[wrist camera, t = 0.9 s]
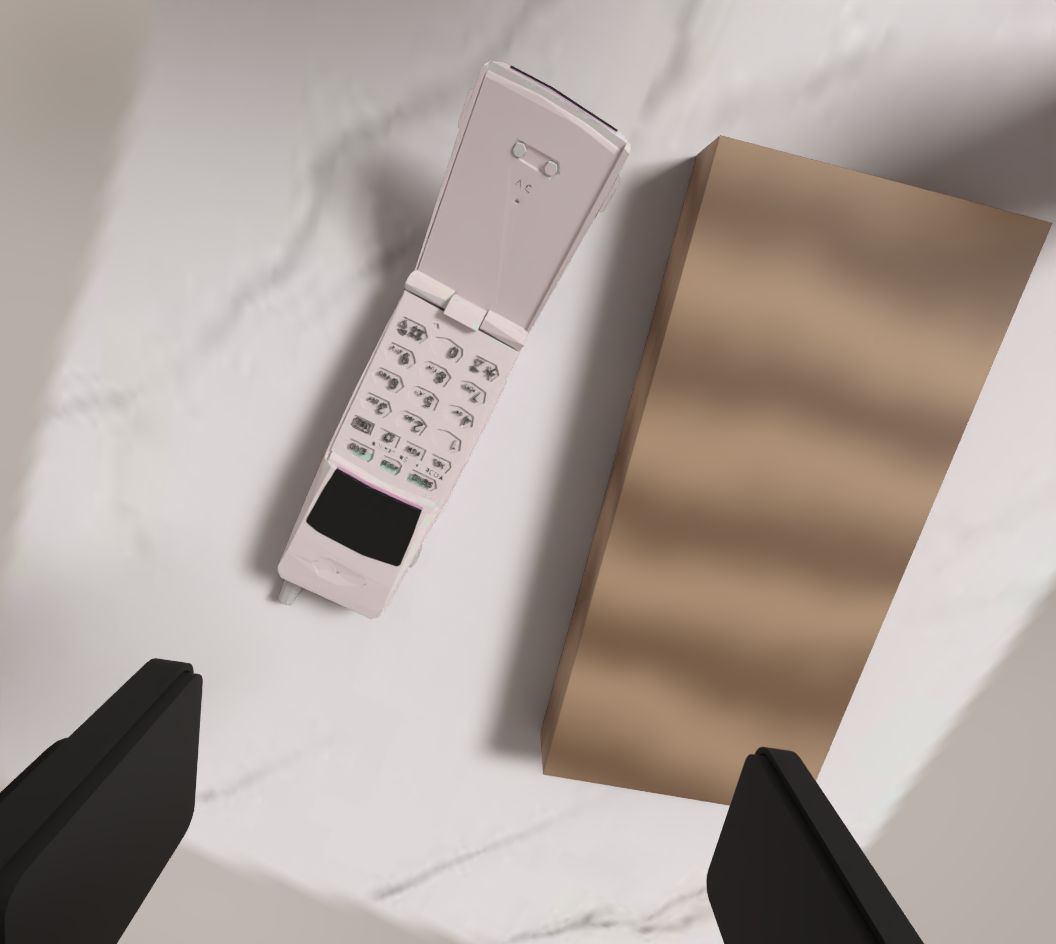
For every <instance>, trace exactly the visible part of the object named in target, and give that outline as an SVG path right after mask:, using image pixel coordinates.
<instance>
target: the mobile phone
mask: <svg viewBox="0 0 1056 944" xmlns="http://www.w3.org/2000/svg"><path fill="white" fill-rule="evenodd" d="M458 128H459V129H460V131H459V133H458V136H457V139H456V142H455V145H454V149H453V152H452V155H451V158H450V161H449V164H448V168H447V171H446V174H445V177H444V180H443V183H442V186H441V190H440V193H439V196H438V199H437V202H436V205H435V208H434V212H433V215H432V218H431V221H430V224H429V227H428V230H427V234H426V237H425V240H424V243H423V246H422V249H421V253H420V256H419V259H418V262H417V265H416V268H415V271H413V272H412V273H411V274H410V275H409V277H408V279H407V281H406V282H405V287H404V288H405V290H404V292H403V294H402V296H401V298H400V300H399V302H398V304H397V306H396V308H395V310H394V312H393V314H392V316H391V318H390V320H389V321H388V323H387V325H386V327H385V329H384V331H383V333H382V335H381V337H380V339H379V341H378V344H377V346H376V348H375V350H374V352H373V354H372V356H371V358H370V360H369V362H368V364H367V366H366V368H365V370H364V372H363V374H362V376H361V378H360V380H359V382H358V384H357V386H356V388H355V390H354V392H353V394H352V397H351V399H350V401H349V403H348V405H347V407H346V409H345V412H344V414H343V416H342V418H341V420H340V422H339V424H338V426H337V428H336V430H335V432H334V434H333V436H332V438H331V441H330V443H329V445H328V447H327V449H326V452H325V454H324V456H323V459H322V461H321V463H320V466H319V468H318V470H317V473H316V475H315V477H314V480H313V482H312V484H311V487H310V489H309V491H308V494H307V496H306V499H305V502H304V504H303V506H302V509H301V511H300V513H299V516H298V518H297V521H296V523H295V525H294V527H293V530H292V532H291V535H290V538H289V540H288V543H287V545H286V547H285V550H284V552H283V555H282V557H281V559H280V562H279V564H278V573H279V575H280V577H281V578H283V579H284V582H283V585H282V588H281V591H280V594H279V597H278V600H279V601H280V602H281V603H283V604H285V605H291V604H292V603H293V601H294V600H295V598H296V597H297V595H298V594H299V592H300V591H301V589H302V588H305V589H307V590H309V591H311V592H313V593H315V594H318V595H320V596H322V597H324V598H326V599H329V600H331V601H333V602H335V603H337V604H340V605H342V606H344V607H346V608H348V609H350V610H353V611H355V612H357V613H359V614H361V615H364V616H366V617H368V618H370V619H372V618H376V617H378V616H379V615H380V614H382V613H383V612H384V611H385V609H386V608H387V606H388V604H389V603H390V601H391V599H392V597H393V595H394V594H395V592H396V590H397V588H398V586H399V585H400V583H401V581H402V579H403V577H404V576H405V574H406V572H407V570H408V569H409V567H412V566H413V565H414V564H415V563H416V561H417V559H418V557H419V555H420V552H421V549H422V543H423V541H424V540H425V538H426V536H427V534H428V532H429V530H430V529H431V527H432V525H433V523H434V522H435V521H436V519H437V518H438V516H439V515H440V513H441V511H442V510H443V508H444V506H445V504H446V503H447V501H448V499H449V497H450V495H451V493H452V491H453V489H454V487H455V485H456V483H457V481H458V480H459V478H460V476H461V474H462V472H463V470H464V468H465V466H466V464H467V462H468V460H469V458H470V456H471V454H472V452H473V450H474V448H475V446H476V444H477V442H478V440H479V438H480V436H481V434H482V433H483V431H484V429H485V427H486V425H487V423H488V421H489V419H490V417H491V415H492V413H493V411H494V408H495V406H496V404H497V402H498V400H499V398H500V396H501V394H502V392H503V390H504V388H505V386H506V382H507V378H508V376H509V374H510V372H511V370H512V368H513V366H514V364H515V362H516V360H517V358H518V356H519V353H520V351H521V349H522V347H523V346H524V344H525V342H526V340H527V338H528V334H529V332H530V330H531V328H532V327H533V325H534V323H535V321H536V320H537V318H538V316H539V315H540V313H541V311H542V309H543V308H544V306H545V304H546V302H547V301H548V299H549V297H550V295H551V294H552V292H553V290H554V288H555V287H556V285H557V283H558V281H559V280H560V278H561V276H562V274H563V273H564V271H565V269H566V267H567V266H568V264H569V262H570V260H571V259H572V257H573V255H574V253H575V252H576V250H577V248H578V246H579V245H580V243H581V241H582V239H583V237H584V236H585V234H586V232H587V230H588V229H589V227H590V225H591V223H592V222H593V220H594V218H595V217H596V215H597V213H598V212H602V211H604V210H605V208H606V206H607V204H608V203H609V201H610V199H611V197H612V195H613V194H614V192H615V190H616V188H617V186H618V184H619V182H620V177H619V175H618V174H619V172H620V170H621V169H622V167H623V165H624V163H625V161H626V159H627V157H628V155H629V153H630V149H631V146H630V144H629V142H628V141H627V140H626V138H625V137H624V135H622V134H621V133H620V132H619V131H618V130H617V129H615V128H614V127H612V126H611V125H609V124H608V123H606V122H605V121H603V120H602V119H600V118H599V117H597V116H596V115H594V114H593V113H591V112H589V111H588V110H586V109H585V108H583V107H582V106H580V105H579V104H577V103H576V102H574V101H573V100H571V99H570V98H568V97H567V96H565V95H564V94H562V93H561V92H559V91H558V90H556V89H555V88H553V87H551V86H549V85H547V84H545V83H543V82H541V81H540V80H538V79H536V78H534V77H532V76H530V75H528V74H526V73H524V72H523V71H521V70H519V69H517V68H515V67H513V66H511V65H509V64H507V63H503V62H497V61H488V62H487V63H485V64H484V65H483V66H482V69H481V72H480V75H479V78H478V80H477V83H476V86H475V89H471V90H470V91H469V93H468V96H467V99H466V102H465V104H464V107H463V110H462V113H461V116H460V119H459V123H458ZM617 176H618V177H617ZM616 178H617V179H616ZM612 185H613V186H612ZM611 187H612V188H611ZM610 189H611V190H610ZM604 200H605V201H604ZM603 202H604V203H603ZM427 239H428V242H427ZM426 242H427V243H426ZM426 244H427V245H426ZM425 245H426V248H425V251H424V253H423V250H424V247H425ZM422 253H423V256H422ZM421 256H422V259H421ZM420 259H421V262H420ZM419 262H420V265H419V268H418V269H417V267H418V264H419Z"/></svg>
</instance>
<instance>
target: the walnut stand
mask: <svg viewBox="0 0 1056 944" xmlns="http://www.w3.org/2000/svg"><path fill="white" fill-rule="evenodd" d="M1051 225H1052V223H1051V222H1047V221H1043V220H1039V219H1035V218H1032V217H1028V216H1024V215H1020V214H1016V213H1013V212H1009V211H1005V210H1001V209H998V208H994V207H990V206H986V205H982V204H979V203H975V202H971V201H967V200H963V199H960V198H956V197H952V196H948V195H945V194H941V193H937V192H933V191H929V190H926V189H922V188H918V187H914V186H910V185H907V184H903V183H899V182H895V181H892V180H888V179H884V178H880V177H876V176H873V175H869V174H865V173H861V172H857V171H854V170H850V169H846V168H842V167H839V166H835V165H831V164H827V163H823V162H820V161H816V160H812V159H808V158H805V157H801V156H797V155H793V154H789V153H786V152H782V151H778V150H774V149H770V148H767V147H763V146H759V145H755V144H752V143H748V142H744V141H740V140H736V139H733V138H729V137H725V136H721V135H720V136H719V137H718V138H717V139H715V140H714V141H713V142H712V143H711V144H709V145H708V146H707V147H706V148H705V149H703V150H702V151H701V152H700V153H699V154H697V156H696V160H695V163H694V167H693V171H692V174H691V178H690V182H689V186H688V189H687V193H686V197H685V200H684V204H683V208H682V211H681V215H680V219H679V223H678V226H677V230H676V234H675V237H674V241H673V245H672V249H671V252H670V256H669V260H668V263H667V267H666V271H665V274H664V278H663V282H662V286H661V289H660V293H659V297H658V300H657V304H656V308H655V311H654V315H653V319H652V323H651V326H650V330H649V334H648V337H647V341H646V345H645V349H644V352H643V356H642V360H641V363H640V367H639V371H638V374H637V378H636V382H635V386H634V389H633V393H632V397H631V400H630V404H629V408H628V411H627V415H626V419H625V423H624V426H623V430H622V434H621V437H620V441H619V445H618V449H617V452H616V456H615V460H614V463H613V467H612V471H611V474H610V478H609V482H608V486H607V489H606V493H605V497H604V500H603V504H602V508H601V511H600V515H599V519H598V523H597V526H596V530H595V534H594V537H593V541H592V545H591V549H590V552H589V556H588V560H587V563H586V567H585V571H584V574H583V578H582V582H581V586H580V589H579V593H578V597H577V600H576V604H575V608H574V611H573V615H572V619H571V623H570V626H569V630H568V634H567V637H566V641H565V645H564V649H563V652H562V656H561V660H560V663H559V667H558V671H557V674H556V678H555V682H554V686H553V689H552V693H551V697H550V700H549V704H548V708H547V711H546V715H545V719H544V723H543V726H542V730H541V749H542V764H543V774H544V775H550V776H556V777H562V778H568V779H574V780H580V781H586V782H592V783H598V784H604V785H610V786H616V787H622V788H628V789H634V790H640V791H646V792H652V793H658V794H664V795H670V796H676V797H682V798H688V799H694V800H700V801H706V802H712V803H718V804H724V805H730V804H731V801H732V798H733V795H734V792H735V789H736V786H737V783H738V780H739V777H740V774H741V771H742V768H743V765H744V762H745V760H746V758H747V756H748V755H749V754H755V752H756V750H757V749H758V748H759V747H769V748H776V749H782V750H789V751H793V752H795V753H796V754H797V755H798V756H799V757H800V758H801V760H802V761H803V763H804V764H805V766H806V767H807V769H808V770H809V772H810V773H811V775H812V776H813V778H814V779H815V781H816V779H817V777H818V775H819V772H820V770H821V767H822V765H823V763H824V760H825V758H826V756H827V753H828V751H829V749H830V746H831V744H832V742H833V739H834V737H835V734H836V732H837V730H838V727H839V725H840V723H841V720H842V718H843V716H844V713H845V711H846V708H847V706H848V704H849V701H850V699H851V697H852V694H853V692H854V690H855V687H856V685H857V683H858V680H859V678H860V675H861V673H862V671H863V668H864V666H865V664H866V661H867V659H868V657H869V654H870V652H871V650H872V647H873V645H874V642H875V640H876V638H877V635H878V633H879V631H880V628H881V626H882V624H883V621H884V619H885V617H886V614H887V612H888V609H889V607H890V605H891V602H892V600H893V598H894V595H895V593H896V591H897V588H898V586H899V583H900V581H901V579H902V576H903V574H904V572H905V569H906V567H907V565H908V562H909V560H910V558H911V555H912V553H913V550H914V548H915V546H916V543H917V541H918V539H919V536H920V534H921V532H922V529H923V527H924V525H925V522H926V520H927V517H928V515H929V513H930V510H931V508H932V506H933V503H934V501H935V499H936V496H937V494H938V492H939V489H940V487H941V484H942V482H943V480H944V477H945V475H946V473H947V470H948V468H949V466H950V463H951V461H952V458H953V456H954V454H955V451H956V449H957V447H958V444H959V442H960V440H961V437H962V435H963V433H964V430H965V428H966V425H967V423H968V421H969V418H970V416H971V414H972V411H973V409H974V407H975V404H976V402H977V400H978V397H979V395H980V392H981V390H982V388H983V385H984V383H985V381H986V378H987V376H988V374H989V371H990V369H991V367H992V364H993V362H994V359H995V357H996V355H997V352H998V350H999V348H1000V345H1001V343H1002V341H1003V338H1004V336H1005V334H1006V331H1007V329H1008V326H1009V324H1010V322H1011V319H1012V317H1013V315H1014V312H1015V310H1016V308H1017V305H1018V303H1019V300H1020V298H1021V296H1022V293H1023V291H1024V289H1025V286H1026V284H1027V282H1028V279H1029V277H1030V275H1031V272H1032V270H1033V267H1034V265H1035V263H1036V260H1037V258H1038V256H1039V253H1040V251H1041V249H1042V246H1043V244H1044V242H1045V239H1046V237H1047V234H1048V232H1049V230H1050V227H1051Z"/></svg>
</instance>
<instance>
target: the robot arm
mask: <svg viewBox="0 0 1056 944" xmlns="http://www.w3.org/2000/svg"><path fill="white" fill-rule="evenodd" d="M202 684H203V681H202V676H201V675H200V674H194V672H193V667H192V665H191V664H190V663H184V662H177V661H170V660H164V659H157V658H155V659H151V660H150V661H148V662H147V663H146V664H145V665H144V666H143V667H142V668H141V669H140V670H139V671H137V672H136V673H135V674H134V675H133V676H132V677H131V678H130V679H129V680H128V681H127V682H126V683H125V684H124V685H123V686H122V687H121V688H120V689H119V690H118V691H117V692H116V693H114V694H113V695H112V696H111V697H110V698H109V699H108V700H107V701H106V702H105V703H104V704H103V705H102V706H101V707H100V708H99V709H98V710H97V711H96V712H95V713H94V714H93V715H91V716H90V717H89V718H88V719H87V720H86V721H85V722H84V723H83V724H82V725H81V726H80V727H79V728H78V729H77V730H76V731H75V732H74V733H73V734H72V735H71V736H69V737H68V738H64V739H61V740H59V741H57V742H55V743H54V744H53V745H51V746H50V747H49V748H47V749H46V750H45V751H44V752H43V753H42V754H41V755H40V756H39V757H38V758H37V759H36V760H35V761H34V762H32V763H31V764H30V765H29V766H28V767H27V768H26V769H25V770H24V771H23V772H22V773H21V774H20V775H19V776H17V777H16V778H15V779H14V780H13V781H12V782H11V783H10V784H9V785H8V786H7V787H6V788H5V789H4V790H3V791H1V793H0V944H117V942H118V941H119V939H120V938H121V936H122V934H123V933H124V931H125V930H126V928H127V926H128V925H129V923H130V922H131V920H132V918H133V917H134V915H135V914H136V912H137V910H138V909H139V907H140V906H141V904H142V902H143V901H144V899H145V898H146V896H147V894H148V893H149V891H150V890H151V888H152V886H153V885H154V883H155V882H156V880H157V878H158V877H159V875H160V874H161V872H162V870H163V869H164V867H165V866H166V864H167V862H168V861H169V859H170V858H171V856H172V854H173V853H174V851H175V850H176V848H177V846H178V845H179V843H180V842H181V840H182V838H183V837H184V835H185V833H186V831H187V829H188V827H189V825H190V822H191V819H192V816H193V812H194V806H195V791H196V776H197V761H198V745H199V730H200V715H201V699H202ZM707 893H708V897H709V901H710V904H711V907H712V910H713V912H714V915H715V918H716V921H717V924H718V927H719V930H720V933H721V936H722V938H723V941H724V944H924V943H923V941H922V940H921V939H920V937H919V936H918V934H917V932H916V931H915V929H914V928H913V926H912V925H911V923H910V922H909V920H908V919H907V917H906V916H905V915H904V913H903V911H902V910H901V908H900V907H899V905H898V904H897V903H896V901H895V899H894V898H893V897H892V895H891V893H890V892H889V891H888V889H887V887H886V886H885V885H884V883H883V881H882V880H881V878H880V877H879V876H878V874H877V873H876V871H875V869H874V868H873V866H872V865H871V864H870V862H869V860H868V859H867V857H866V856H865V854H864V853H863V851H862V850H861V848H860V847H859V845H858V844H857V842H856V841H855V839H854V838H853V836H852V835H851V833H850V832H849V830H848V829H847V827H846V826H845V824H844V823H843V821H842V820H841V818H840V817H839V815H838V814H837V812H836V811H835V809H834V808H833V806H832V805H831V803H830V802H829V800H828V799H827V797H826V796H825V794H824V793H823V791H822V790H821V788H820V787H819V785H818V784H817V782H816V781H815V779H814V778H813V776H812V775H811V773H810V772H809V770H808V769H807V767H806V766H805V764H804V763H803V761H802V760H801V758H800V757H799V756H798V755H797V754H796V753H795V752H793V751H789V750H782V749H776V748H769V747H759V748H758V749H757V750H756V752H755V754H749V755H748V756H747V758H746V760H745V762H744V765H743V768H742V771H741V774H740V777H739V780H738V783H737V786H736V789H735V792H734V795H733V798H732V801H731V804H730V807H729V810H728V813H727V816H726V819H725V822H724V825H723V828H722V831H721V834H720V837H719V840H718V843H717V846H716V849H715V852H714V855H713V858H712V861H711V864H710V867H709V870H708V874H707Z"/></svg>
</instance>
